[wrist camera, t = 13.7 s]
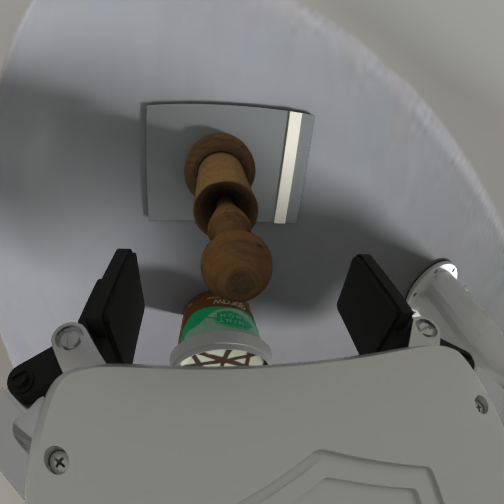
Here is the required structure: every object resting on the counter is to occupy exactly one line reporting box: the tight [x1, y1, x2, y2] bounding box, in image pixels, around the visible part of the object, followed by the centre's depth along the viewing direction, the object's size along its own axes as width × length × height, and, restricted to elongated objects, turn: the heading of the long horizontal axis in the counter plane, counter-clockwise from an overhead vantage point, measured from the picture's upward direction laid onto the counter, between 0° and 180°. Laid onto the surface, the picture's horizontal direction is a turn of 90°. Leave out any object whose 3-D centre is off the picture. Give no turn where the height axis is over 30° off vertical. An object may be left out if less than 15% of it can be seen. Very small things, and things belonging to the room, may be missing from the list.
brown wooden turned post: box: [184, 133, 272, 302], centre depth 18 cm, size 7×6×18 cm
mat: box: [146, 104, 315, 224], centre depth 26 cm, size 16×12×1 cm
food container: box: [170, 291, 272, 366], centre depth 32 cm, size 12×6×10 cm, turn 80°
